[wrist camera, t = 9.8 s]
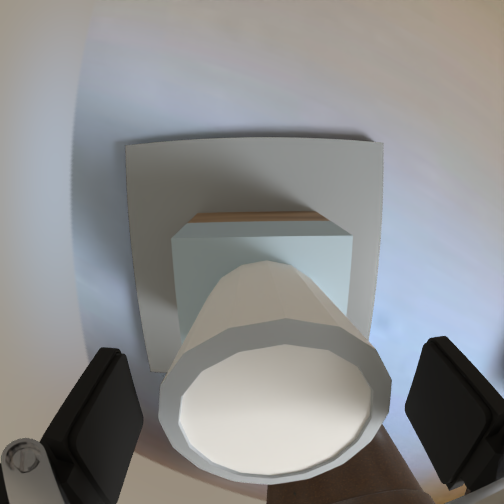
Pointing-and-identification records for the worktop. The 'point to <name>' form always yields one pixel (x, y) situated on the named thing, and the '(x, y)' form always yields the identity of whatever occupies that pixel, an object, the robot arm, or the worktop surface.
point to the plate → (246, 210)
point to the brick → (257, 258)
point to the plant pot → (358, 480)
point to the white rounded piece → (272, 381)
